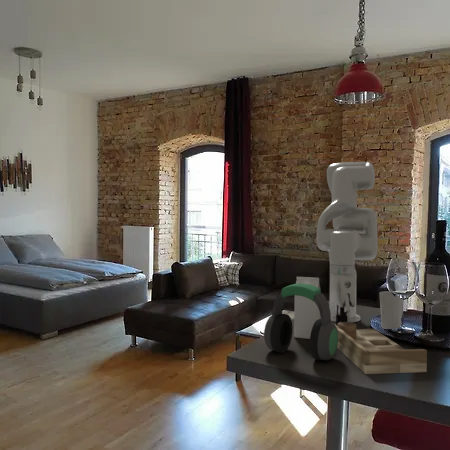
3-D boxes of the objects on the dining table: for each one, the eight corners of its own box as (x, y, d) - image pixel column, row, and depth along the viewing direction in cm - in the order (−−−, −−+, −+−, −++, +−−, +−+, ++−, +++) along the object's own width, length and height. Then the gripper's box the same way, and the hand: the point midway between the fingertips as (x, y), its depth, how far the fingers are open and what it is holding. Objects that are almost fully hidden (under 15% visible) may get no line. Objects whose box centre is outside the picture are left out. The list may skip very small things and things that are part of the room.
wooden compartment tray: (325, 336, 145) (325, 319, 145) (373, 335, 147) (373, 318, 147) (365, 374, 114) (365, 352, 113) (426, 371, 115) (427, 350, 115)
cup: (405, 332, 151) (406, 296, 150) (380, 331, 152) (381, 295, 152) (401, 326, 158) (402, 291, 158) (377, 324, 160) (377, 291, 159)
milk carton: (298, 331, 151) (298, 275, 150) (319, 334, 149) (320, 276, 148) (294, 337, 144) (294, 278, 143) (316, 340, 142) (317, 279, 141)
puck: (334, 335, 140) (334, 322, 140) (352, 334, 140) (352, 321, 140) (341, 340, 134) (341, 327, 134) (359, 339, 135) (359, 326, 135)
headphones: (339, 355, 127) (340, 285, 126) (326, 367, 118) (327, 291, 117) (278, 344, 137) (278, 278, 136) (261, 354, 128) (261, 284, 127)
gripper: (363, 273, 137) (362, 333, 138) (345, 266, 152) (344, 320, 153) (338, 273, 136) (338, 334, 137) (323, 266, 151) (322, 321, 152)
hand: (341, 326), depth 145 cm, fingers closed
